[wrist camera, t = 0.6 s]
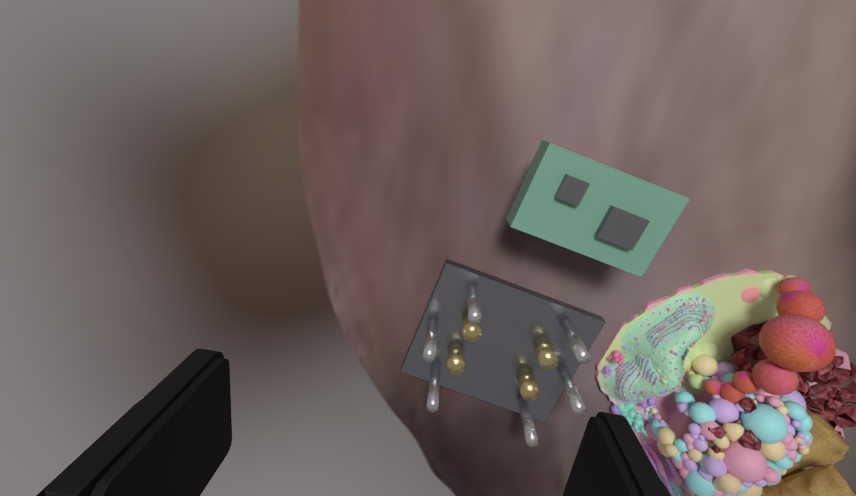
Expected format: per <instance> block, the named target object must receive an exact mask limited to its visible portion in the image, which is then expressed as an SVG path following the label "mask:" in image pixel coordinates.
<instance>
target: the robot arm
mask: <svg viewBox="0 0 856 496" xmlns="http://www.w3.org/2000/svg"><path fill="white" fill-rule="evenodd" d="M229 372H230V370H229V361H228V360H227V359H224V356H223V354H222V353H221V352H217V351H211V350H205V349H196V350H195V351H194V352H192V353H191V354H190V355H189V356H188V357H187V358H186V359H185V360H184V361H183V362H182V363H181V364H180V365H178V366H177V367H176V368H175V369H174V370H173V371H172V372H171V373H170V374H169V375H168V376H167V377H166V378H164V379H163V380H162V381H161V382H160V383H159V384H158V385H157V386H156V387H155V388H154V389H153V390H152V391H150V392H149V393H148V394H147V395H146V396H145V397H144V398H143V399H142V400H141V401H139V402H138V403H136V404H135V405H134V406H133V407H132V408H131V409H130V410H129V411H128V412H127V413H125V414H124V415H123V416H122V417H121V418H120V419H119V420H118V421H117V422H116V423H115V424H114V425H112V426H111V427H110V428H109V429H108V430H107V431H106V432H105V433H104V434H103V435H102V436H101V437H100V438H99V439H97V440H96V441H95V442H94V443H93V444H92V445H91V446H90V447H89V448H88V449H87V450H85V451H84V452H83V453H82V454H81V455H80V456H79V457H78V458H77V459H76V460H75V461H74V462H72V463H71V464H70V465H69V466H68V467H67V468H66V469H65V470H64V471H63V472H62V473H61V474H59V475H58V476H57V477H56V478H55V479H54V480H53V481H52V482H51V483H50V484H49V485H48V486H46V487H45V488H44V489H43V490H42V491H41V492H40V493H39V494H38V495H37V496H200V495H201V493H202V492H203V490H204V489H205V487H206V486H207V484H208V483H209V481H210V480H211V478H212V476H213V475H214V473H215V472H216V470H217V469H218V467H219V466H220V464H221V463H222V461H223V460H224V458H225V457H226V455H227V453H228V451H229V449H230V446H231V442H232V428H231V398H230V373H229ZM563 496H671V494H670V492H669V491H668V489H667V487H666V486H665V485H664V483H663V482H662V481H661V479H660V478H659V476H658V474H657V472H656V471H655V469H654V467H653V465H652V463H651V462H650V460H649V458H648V456H647V454H646V453H645V451H644V449H643V447H642V445H641V444H640V442H639V440H638V438H637V437H636V435H635V433H634V431H633V429H632V428H631V426H630V424H629V422H628V420H627V419H626V418H625V417H624V416H623V415H617V414H611V413H604V412H599V413H598V414H597V415H596V417H591V418H590V419H589V421H588V424H587V427H586V430H585V433H584V436H583V438H582V441H581V444H580V447H579V450H578V453H577V456H576V458H575V461H574V464H573V467H572V470H571V473H570V476H569V478H568V481H567V484H566V487H565V490H564V493H563Z"/></svg>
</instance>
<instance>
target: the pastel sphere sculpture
mask: <svg viewBox="0 0 856 496" xmlns="http://www.w3.org/2000/svg"><path fill="white" fill-rule="evenodd" d="M825 314H826V309H825V306H824V303H823V301H822V300H821V299H820V298H819V297H817V296H816V295H814V294H813V293H811V287H810V285H809V283H807V282H806V281H805V280H803V279H801V278H796V277H795V276H793V275H786V276H784V275H781V274H779V273H776V272H774V271H771V270H766V271H758V272H756V271H753V270H750V269H744V270H742V271H739V272H735V273H730V274H726V273H721V274H719V275H716V276H712V277H710V278H707V279H704V280H702V281H701V282H700V283H699V284H696V285H693V286H685V287H682V288H678V289H676V290H675V291H674V292H673V293H671V294H670V295H668V296H665V297H663V298H660V299H656V300H654V301H651V302H648V303H647V304H646V305H645V307H644V308H643V310H642V311H641V312H639V313H638V314H635V315H633V316H632V317H631V318H630V319H629V320H627V321H625V322H623V323H621V325H620V326H619V327H618V329H617V330H616V332H615V333H614V335H613V337H612V338H611V340H610V341H609V343H608V345H607V346H606V348H605V349H604V351H603V353H602V354H601V356H600V357H599V359H598V361H597V362H596V367H597V372H596V378H597V381H598V383H599V385H600V389H601V390H602V392H603V393H605V394H607V395H608V397H609V399H610V401H612V402H613V404H612V406H611V411H612V412H611V414H617V415H623V416H624V417H625V418H626V419H627V420H628V422H629V424H630V426H631V428H632V429H633V431H634V433H635V435H636V437H637V438H638V440H639V442H640V444H641V445H642V447H643V449H644V451H645V453H646V454H647V456H648V458H649V460H650V462H651V463H652V465H653V467H654V469H655V471H656V472H657V474H658V476H659V478H660V479H661V481H662V482H663V483H664V485H665V486H666V487H667V489H668V491H669V492H670V494H671V496H856V494H855V493H853V492H852V490H851V488H850V487H849V485H848V484H847V482H846V481H845V480H844V478H843V477H842V476H841V475H840V473H839V472H838V471H837V469H836V468H835V467H834V466H833V465H836V464H837V463H839V462H840V461H842V460H844V459H845V458H846V457H845V453H846V452H847V451H848V449H849V448H850V446H849V445H848V444H847V442H846V441H845V440H844V439H845V437H844V430H843V429H842V428H840V427H853V426H856V407H855V406H854V405H847V406H844V405H845V404H846V403H848V402H850V403H854V404H856V365H854V364H853V363H850V361H849V356H848V354H846V353H845V352H843V351H841V350H840V349H838V348H836V341H835V339H834V337H833V335H832V333H831V332H830V331H829V330H830V327H831V325H832V324H831V322H830V321H829V320H828V319H827V317H826V316H825ZM809 466H813V467H814V468H810V469H807V470H805V468H804V467H809Z"/></svg>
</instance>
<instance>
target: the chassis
mask: <svg viewBox="0 0 856 496" xmlns="http://www.w3.org/2000/svg"><path fill="white" fill-rule="evenodd" d="M605 323H606V322H605V321H604V319H603V318H602V317H601V316H598V315H595V314H593V313H590V312H587V311H585V310H582V309H579V308H577V307H574V306H571V305H569V304H566V303H563V302H561V301H558V300H555V299H553V298H550V297H547V296H545V295H542V294H539V293H537V292H534V291H531V290H529V289H526V288H523V287H521V286H518V285H515V284H513V283H510V282H507V281H505V280H502V279H499V278H497V277H494V276H491V275H488V274H486V273H483V272H480V271H478V270H475V269H472V268H470V267H467V266H464V265H462V264H459V263H456V262H454V261H451V260H448V259H446V261H445V264H444V266H443V268H442V271H441V273H440V276H439V278H438V280H437V283H436V285H435V287H434V290H433V292H432V295H431V297H430V299H429V302H428V304H427V306H426V309H425V311H424V314H423V316H422V318H421V321H420V323H419V325H418V328H417V330H416V333H415V335H414V337H413V340H412V342H411V344H410V347H409V349H408V352H407V354H406V356H405V359H404V361H403V363H402V366H401V371H400V372H403V373H406V374H409V375H412V376H414V377H417V378H420V379H423V380H426V381H429V387H428V398H427V410H428V411H430V412H436V411H437V410H438V409H439V392H440V386H443V387H446V388H448V389H451V390H454V391H457V392H460V393H463V394H465V395H468V396H471V397H474V398H477V399H480V400H482V401H485V402H488V403H491V404H494V405H497V406H500V407H502V408H505V409H508V410H511V411H514V412H517V413H519V414H520V415H521V419H522V424H523V429H524V433H525V438H526V443H527V445H528V446H531V447H534V446H536V445H538V443H539V441H538V437H537V433H536V429H535V425H534V421H533V418H534V419H536V420H539V421H542V422H545V421H546V419H547V417H548V416H549V414H550V412H551V411H552V409H553V408H554V406H555V404H556V403H557V401H558V399H559V398H560V396H561V395H562V393H563V391H564V390H565V391H566V394H567V397H568V399H569V402H570V404H571V407H572V409H573V412H574V413H575V414H576V415H582V414H584V413H585V412H586V408H585V405H584V403H583V401H582V399H581V396H580V394H579V392H578V390H577V387H576V385H575V383H574V381H573V378H572V377H573V375H574V373H575V372H576V370H577V368H578V367H579V365H580V363H582V364H585V363H588V362H589V361H590V358H591V357H590V355H589V353H588V350H589V349H590V347H591V345H592V344H593V342H594V341H595V339H596V337H597V336H598V334H599V332H600V331H601V329H602V327H603V326H604V324H605Z"/></svg>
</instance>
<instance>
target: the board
mask: <svg viewBox="0 0 856 496" xmlns="http://www.w3.org/2000/svg"><path fill="white" fill-rule="evenodd" d="M688 201H689V198H686V197H684V196H681V195H679V194H676V193H674V192H671V191H669V190H666V189H664V188H661V187H659V186H656V185H654V184H651V183H649V182H646V181H644V180H641V179H639V178H636V177H634V176H631V175H629V174H626V173H624V172H621V171H619V170H616V169H614V168H611V167H609V166H606V165H604V164H601V163H599V162H596V161H594V160H591V159H589V158H586V157H584V156H581V155H579V154H576V153H574V152H571V151H569V150H566V149H564V148H561V147H559V146H556V145H554V144H551V143H549V142H546V141H543V140H542V141H541V143H540V146H539V148H538V150H537V152H536V154H535V156H534V159H533V161H532V163H531V165H530V167H529V169H528V172H527V174H526V176H525V178H524V180H523V183H522V185H521V187H520V189H519V191H518V193H517V196H516V198H515V200H514V202H513V204H512V206H511V209H510V211H509V213H508V215H507V217H506V218H507V221H508V223H509V225H510V227H512V228H515V229H517V230H520V231H523V232H525V233H528V234H530V235H533V236H536V237H538V238H541V239H543V240H546V241H549V242H551V243H554V244H557V245H559V246H562V247H564V248H567V249H570V250H572V251H575V252H577V253H580V254H583V255H585V256H588V257H590V258H593V259H596V260H598V261H601V262H604V263H606V264H609V265H611V266H614V267H617V268H619V269H622V270H624V271H627V272H630V273H632V274H635V275H637V276H640V277H642V275H643V274H644V272H645V270H646V269H647V267H648V266H649V264H650V262H651V261H652V259H653V257H654V256H655V254H656V253H657V251H658V249H659V248H660V246H661V245H662V243H663V241H664V240H665V238H666V236H667V235H668V233H669V232H670V230H671V228H672V227H673V225H674V224H675V222H676V220H677V219H678V217H679V215H680V214H681V212H682V211H683V209H684V207H685V206H686V204H687V203H688Z"/></svg>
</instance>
